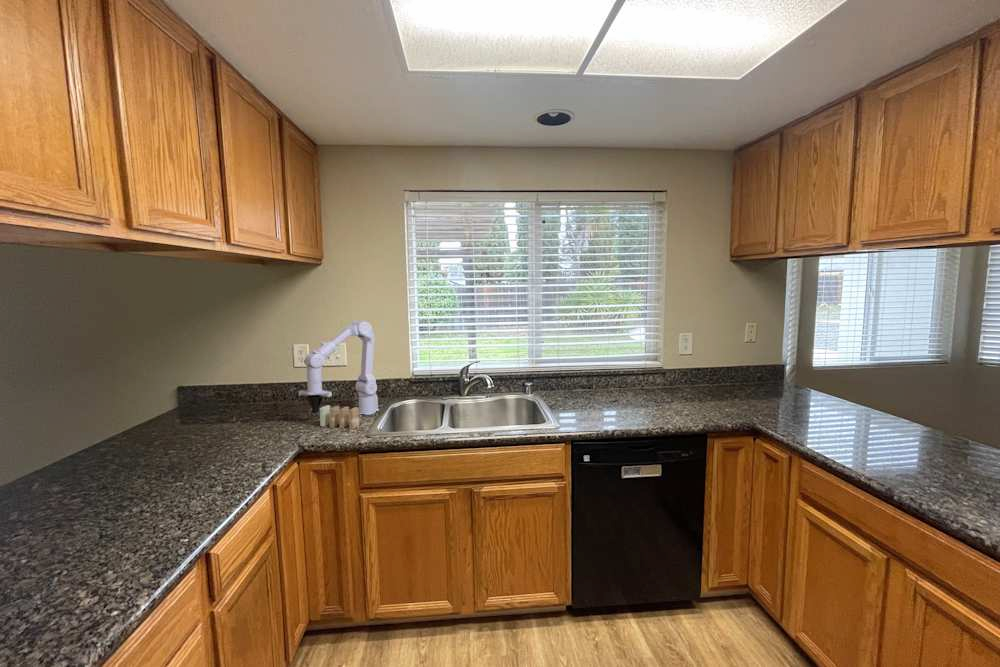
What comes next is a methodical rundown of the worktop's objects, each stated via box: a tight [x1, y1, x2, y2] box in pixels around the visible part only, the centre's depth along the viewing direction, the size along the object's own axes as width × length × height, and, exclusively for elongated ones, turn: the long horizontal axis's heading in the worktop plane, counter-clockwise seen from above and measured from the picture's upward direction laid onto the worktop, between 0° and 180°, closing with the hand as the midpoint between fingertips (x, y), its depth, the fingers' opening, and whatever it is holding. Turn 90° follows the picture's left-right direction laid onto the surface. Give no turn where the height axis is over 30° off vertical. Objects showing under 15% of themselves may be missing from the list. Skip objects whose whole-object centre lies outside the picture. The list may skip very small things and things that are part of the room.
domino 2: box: [329, 405, 341, 428], centre depth 179 cm, size 2×5×8 cm, turn 170°
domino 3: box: [339, 406, 350, 429], centre depth 178 cm, size 2×5×8 cm, turn 169°
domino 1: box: [319, 404, 331, 428], centre depth 180 cm, size 2×5×8 cm, turn 169°
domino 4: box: [348, 406, 360, 430], centre depth 177 cm, size 2×5×8 cm, turn 169°
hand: (315, 412), depth 181 cm, fingers closed
